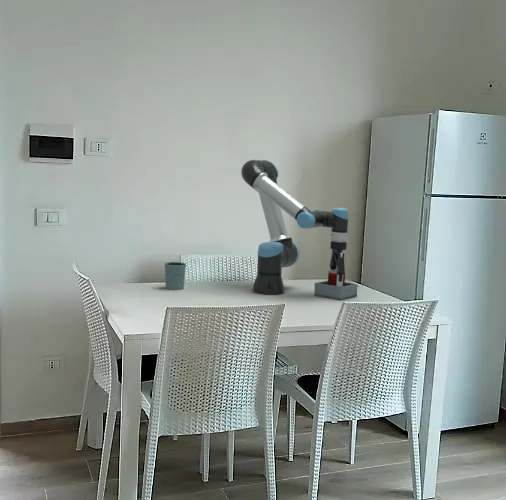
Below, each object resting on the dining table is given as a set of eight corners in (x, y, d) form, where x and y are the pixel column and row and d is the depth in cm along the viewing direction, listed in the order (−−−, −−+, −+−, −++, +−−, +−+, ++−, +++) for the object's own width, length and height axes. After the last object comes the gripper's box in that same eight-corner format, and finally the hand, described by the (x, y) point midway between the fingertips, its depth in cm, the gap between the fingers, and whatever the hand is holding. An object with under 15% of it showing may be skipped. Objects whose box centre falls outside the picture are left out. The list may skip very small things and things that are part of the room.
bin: (314, 295, 327) (314, 283, 326) (330, 291, 338) (331, 279, 337) (340, 300, 318) (341, 287, 317) (356, 296, 329) (357, 284, 328)
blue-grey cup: (182, 286, 336) (183, 261, 334) (187, 290, 326) (188, 265, 325) (162, 286, 332) (162, 261, 331) (166, 290, 323) (166, 265, 321)
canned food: (347, 294, 327) (348, 271, 326) (335, 296, 322) (336, 272, 321) (335, 291, 333) (337, 269, 332) (323, 293, 328) (325, 270, 327)
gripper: (325, 237, 336) (322, 280, 339) (337, 244, 312) (334, 290, 314) (340, 238, 337) (337, 281, 340) (353, 244, 313) (350, 290, 315)
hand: (335, 285), depth 327 cm, fingers open, 13 cm apart
